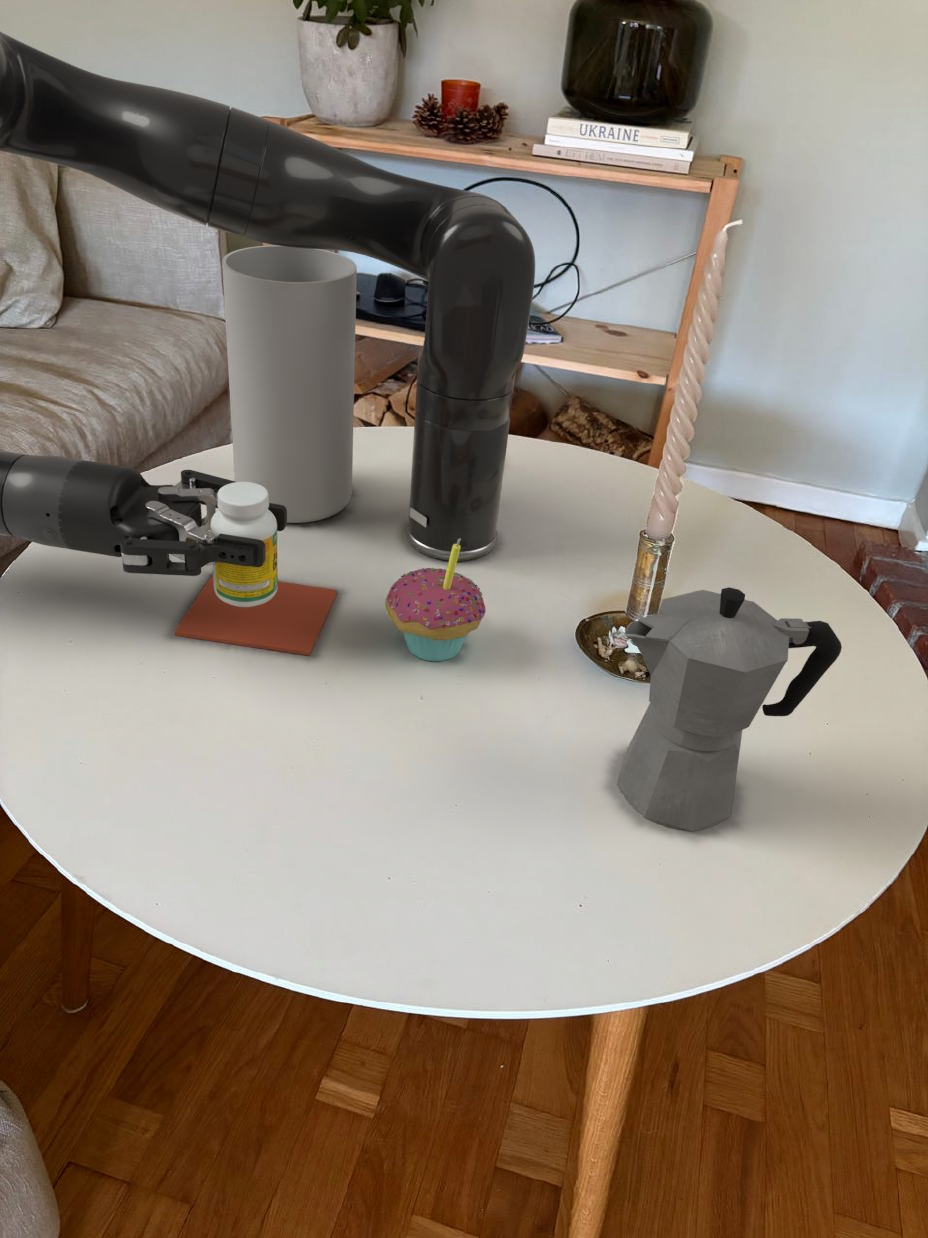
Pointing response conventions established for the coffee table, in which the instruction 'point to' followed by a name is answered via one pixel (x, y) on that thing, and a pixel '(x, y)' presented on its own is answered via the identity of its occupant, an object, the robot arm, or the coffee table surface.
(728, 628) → the coffeepot
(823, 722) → the coffee table surface
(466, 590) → the cupcake
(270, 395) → the cylinder vase
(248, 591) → the supplement bottle
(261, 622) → the square tile
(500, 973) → the coffee table surface
